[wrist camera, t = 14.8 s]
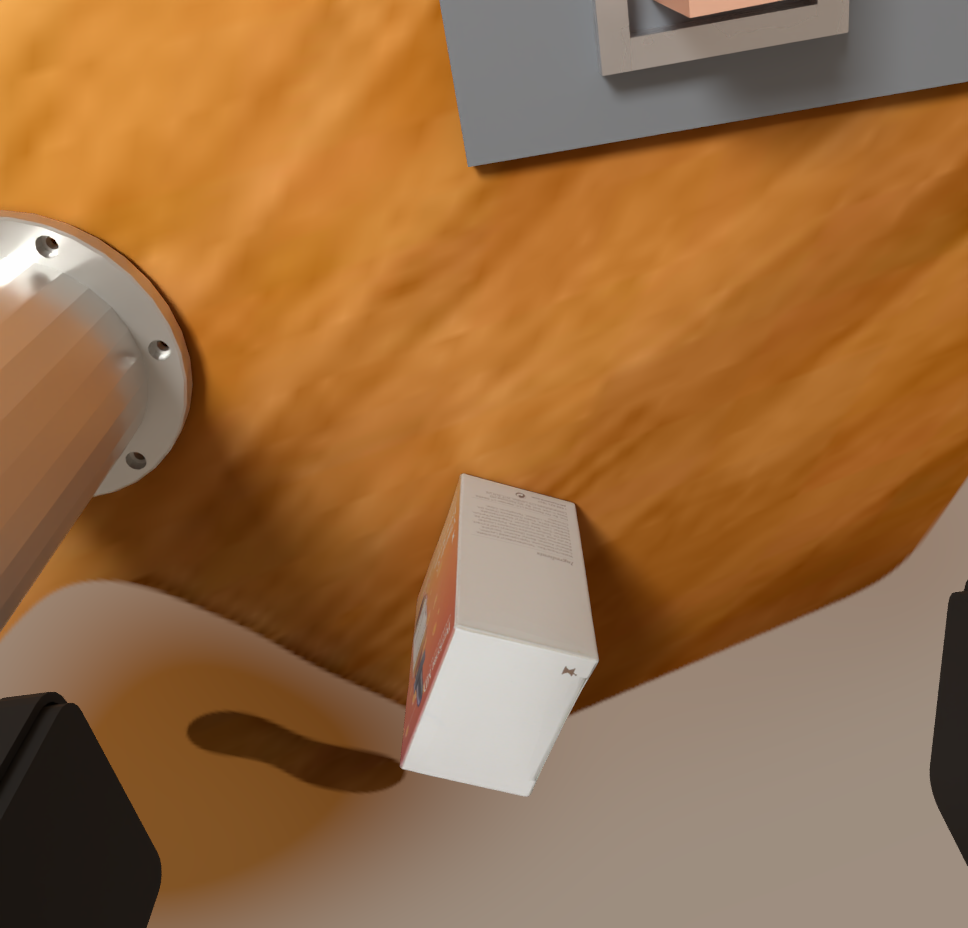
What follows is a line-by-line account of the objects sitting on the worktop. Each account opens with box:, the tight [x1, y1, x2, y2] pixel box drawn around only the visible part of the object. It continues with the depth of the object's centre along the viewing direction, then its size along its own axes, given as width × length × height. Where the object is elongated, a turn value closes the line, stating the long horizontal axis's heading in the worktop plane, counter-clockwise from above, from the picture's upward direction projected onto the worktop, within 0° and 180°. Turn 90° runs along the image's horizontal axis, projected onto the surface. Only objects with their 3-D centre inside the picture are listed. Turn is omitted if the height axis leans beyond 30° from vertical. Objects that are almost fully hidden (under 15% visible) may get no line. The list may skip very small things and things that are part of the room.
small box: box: [400, 474, 599, 796], centre depth 39 cm, size 8×6×10 cm
